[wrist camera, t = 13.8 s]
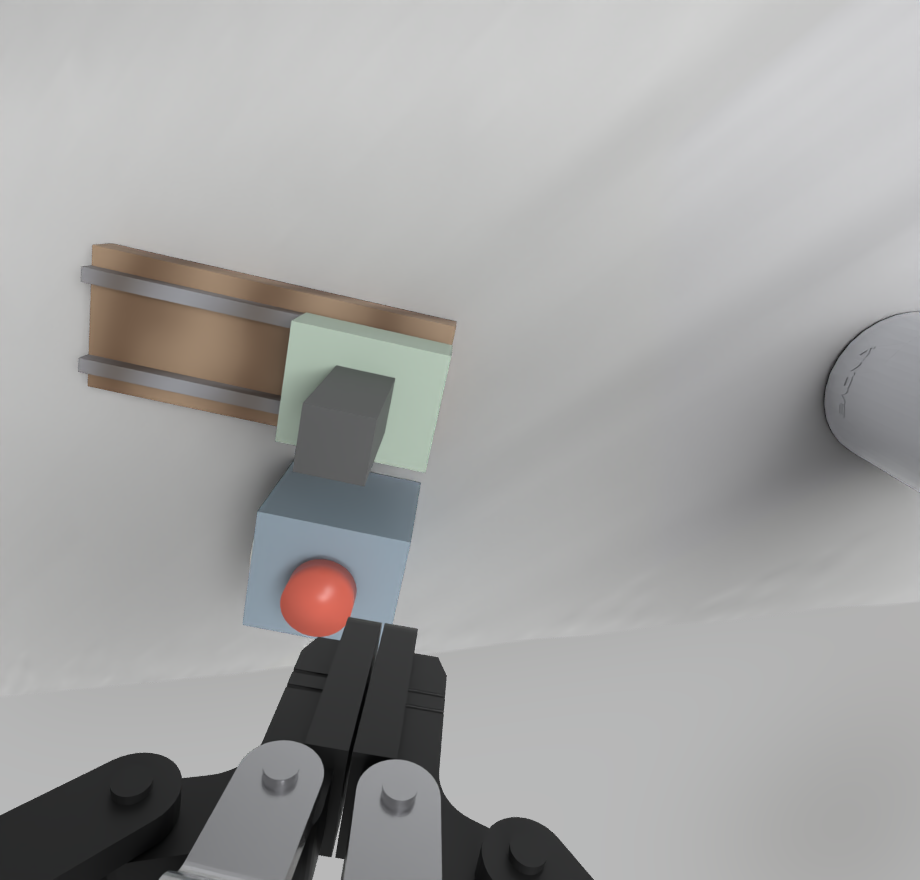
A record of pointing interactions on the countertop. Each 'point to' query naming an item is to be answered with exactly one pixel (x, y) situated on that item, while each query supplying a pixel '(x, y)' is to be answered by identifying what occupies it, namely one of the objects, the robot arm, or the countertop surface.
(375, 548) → the button box
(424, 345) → the carriage
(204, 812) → the robot arm
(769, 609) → the countertop surface
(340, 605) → the button
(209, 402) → the rail track
